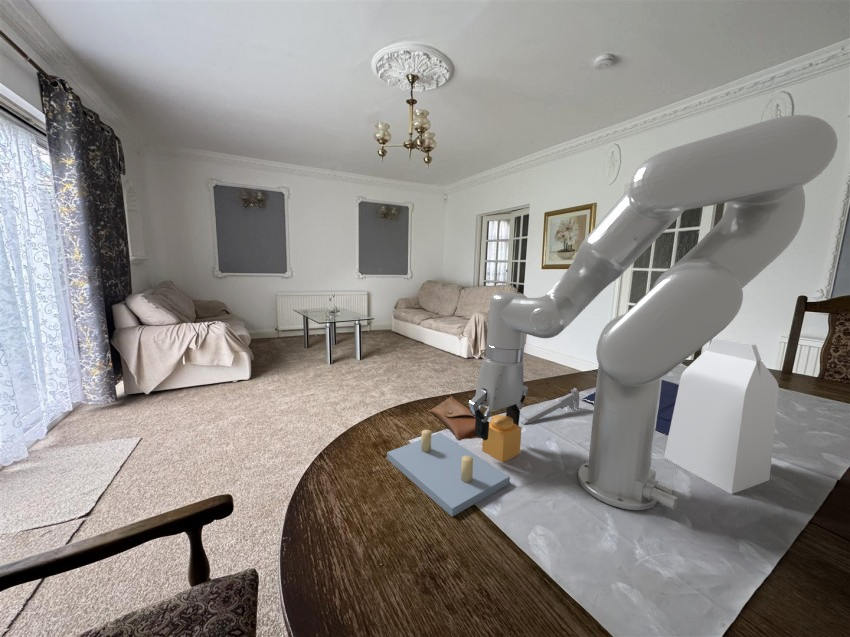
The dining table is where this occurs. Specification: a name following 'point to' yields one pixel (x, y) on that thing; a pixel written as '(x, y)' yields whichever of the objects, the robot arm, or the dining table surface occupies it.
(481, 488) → the board
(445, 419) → the sunglasses case
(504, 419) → the cube with ball knob
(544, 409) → the caliper
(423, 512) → the dining table surface
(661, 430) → the folded navy cloth
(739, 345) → the milk
